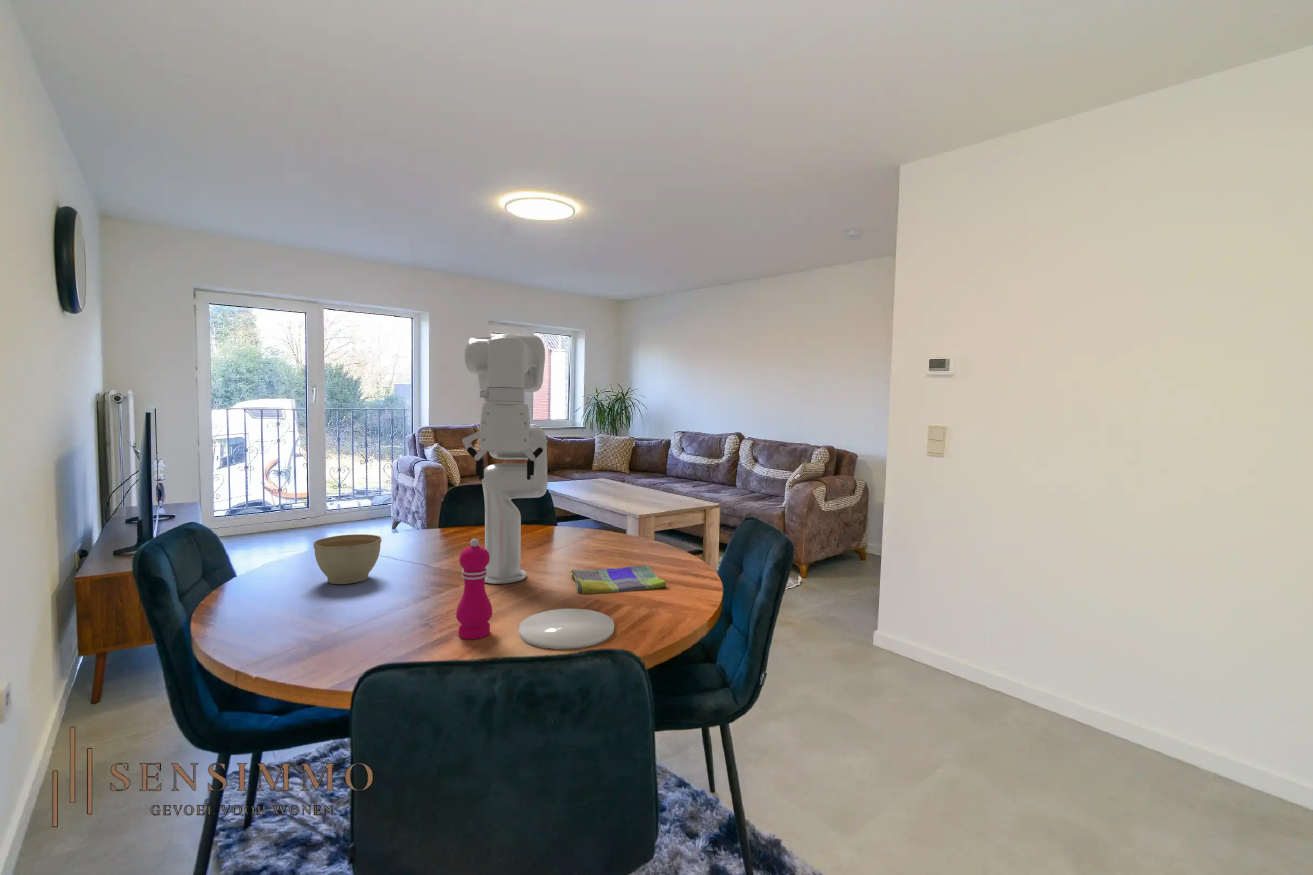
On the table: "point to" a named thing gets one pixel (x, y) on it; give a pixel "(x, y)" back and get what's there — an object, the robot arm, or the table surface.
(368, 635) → the table surface
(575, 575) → the dish towel
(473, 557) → the pepper mill
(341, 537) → the planter bowl
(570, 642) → the disc
